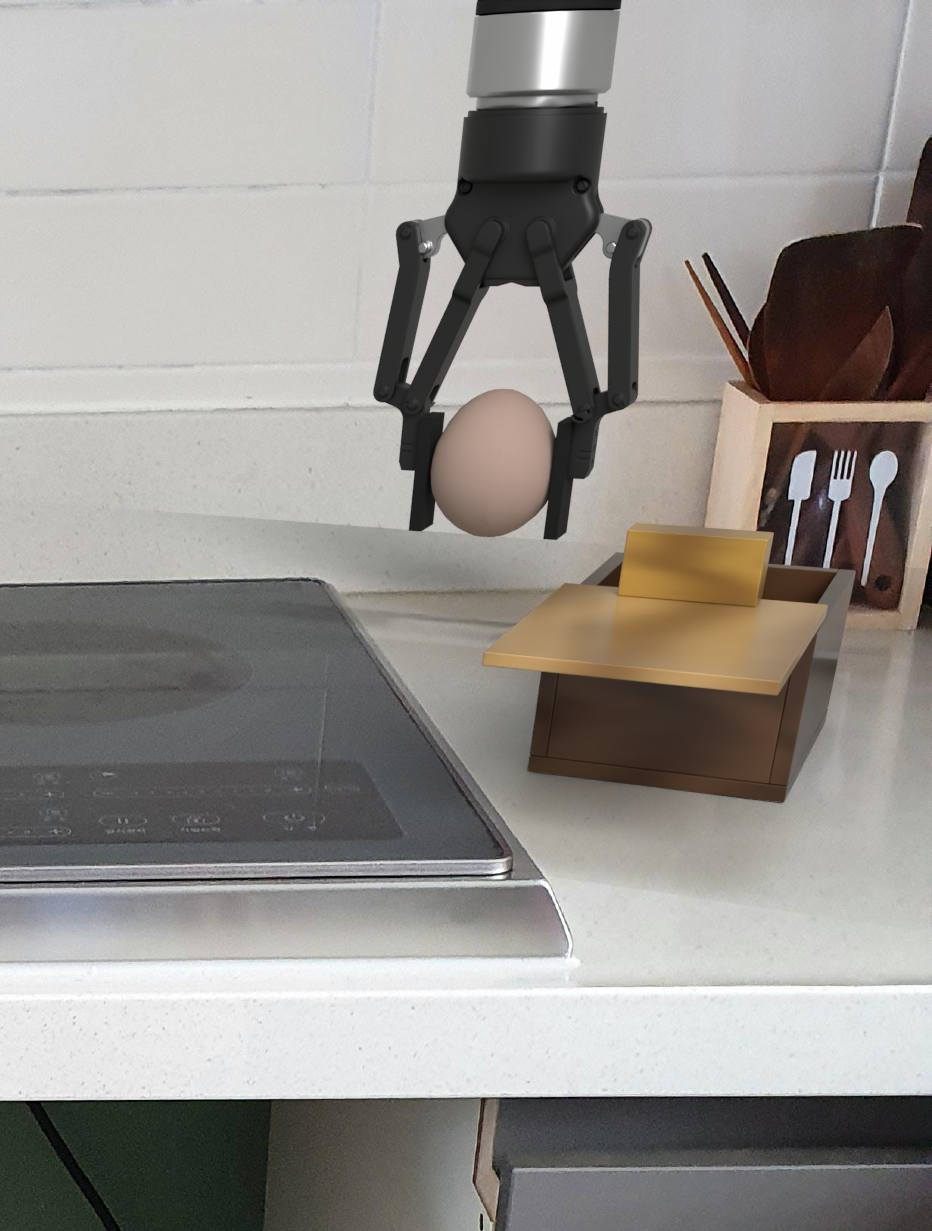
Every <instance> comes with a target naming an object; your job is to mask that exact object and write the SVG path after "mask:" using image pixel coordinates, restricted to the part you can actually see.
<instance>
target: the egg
mask: <svg viewBox="0 0 932 1231" xmlns="http://www.w3.org/2000/svg"><path fill="white" fill-rule="evenodd" d="M555 442H556V434H555V432H554V428H553V426H552V424H551V421H550V420H549V419H548V417H547V414H546V413H545V411H544V410H543V408H542V407H541V406H540V405H539V404H538V403H537V402H536V401H534V399H532V398H531V397H530V396H528V395H527V394H525V393H523V392H521V391H519V390H516V389H512V388H494V389H490V390H487V391H485V392H482V393H480V394H478V395H476V396H474V397H473V398H471V399H470V400H468V401H467V402H466V403H464V405H462V406H461V407H460V408H459V409H458V410H457V412H456V413H455V414H454V415H453V416H452V418H451V419H450V420H449V421H448V422H447V425H446V426H445V428H444V429H443V433H442V435H441V437H440V439H439V441H438V443H437V445H436V448H435V451H434V455H433V458H432V465H431V488H432V493H433V496H434V498H435V504H436V506H437V507H438V509H439V510H440V512H441V513H442V515H443V516H444V517H445V518H446V520H448V521H449V522H450V523H451V524H452V525H453V526H454V527H456V528H457V529H458V530H461V531H463V532H464V533H467V534H469V535H472V536H474V537H480V538H495V537H502V536H505V535H508V534H510V533H512V532H514V531H515V532H516V531H517V530H519V529H520V528H522V527H523V526H525V525H526V524H527V523H528V522H530V521H531V520H532V519H533V518H535V517H536V516H537V515H538V514H539V513H540V512H541V510H542V509H544V507H545V506H546V504H548V497H549V489H550V481H551V473H552V465H553V457H554V450H555Z"/></svg>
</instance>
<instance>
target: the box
mask: <svg viewBox="0 0 932 1231" xmlns="http://www.w3.org/2000/svg"><path fill="white" fill-rule="evenodd" d="M623 555H624V552H619V551H615V553H613V554H612V555H611V556H610V557H609V558H607V560H605V561H604V562H603V563H602V564H601V565H600V566H598V568H596V569H595V570H594V571H593V572H592V573H591V574H589V576H587V577H586V578H585V579H584V580H583V581H582V582H580V584H585V585H597V586H609V587H619V581H620V575H621V568H622V562H623ZM856 574H857V571H856V570H854V569H844V568H843V569H842V568H840V569H838V568H830V567H818V566H817V567H815V566H803V565H793V564H792V565H791V564H790V565H789V564H779V563H777V564H776V563H768V568H767V573H766V579H765V584H764V590H763V595H762V598H761V599H765V600H777V601H789V602H801V603H813V604H825V605H828V608H827V613H826V617H825V619H824V620H823V622H822V624H821V625H820V627H819V628H818V630H817V632H816V633H815V635H814V637H813V638H812V640H811V642H810V643H809V645H808V646H807V648H806V650H805V651H804V653H803V655H802V656H801V658H800V660H799V661H798V663H797V664H796V666H795V668H794V669H793V671H792V673H791V674H790V676H789V678H788V679H787V681H786V682H785V684H784V686H783V687H782V689H781V691H780V692H779V694H778V695H777V696H774V695H765V694H755V693H745V692H735V691H726V690H716V689H706V688H697V687H687V686H677V685H667V684H658V683H648V682H638V681H628V680H619V679H609V678H599V677H589V676H580V675H570V674H560V673H550V672H541V671H540V677H539V684H538V691H537V699H536V705H535V713H534V719H533V720H534V721H533V728H532V734H531V741H530V748H529V756H528V763H527V769H526V770H527V771H528V772H531V773H540V774H546V775H547V774H549V775H556V776H563V777H571V778H572V777H573V778H579V779H587V780H588V779H589V780H596V781H597V780H598V781H605V782H612V783H620V784H628V785H629V784H630V785H637V786H644V787H645V786H646V787H652V788H653V787H654V788H661V789H669V790H678V791H685V792H694V793H700V794H701V793H702V794H710V795H718V796H725V797H726V796H727V797H733V798H741V799H749V798H752V799H751V800H757V799H760V800H759V801H765V800H769V801H768V802H773V801H778V802H777V803H781V802H783V803H785V801H786V800H787V797H788V796H789V794H790V792H791V790H792V788H793V786H794V784H795V782H796V780H797V778H798V776H799V774H800V772H801V770H802V768H803V766H804V765H805V762H806V760H807V758H808V757H809V755H810V752H811V750H812V748H813V747H814V745H815V743H816V740H817V739H818V737H819V736H820V733H821V731H822V729H823V727H824V725H825V723H826V721H827V716H828V711H829V709H828V708H829V706H830V700H831V695H832V691H833V685H834V680H835V676H836V671H837V666H838V661H839V656H840V652H841V647H842V641H843V637H844V632H845V626H846V622H847V618H848V612H849V607H850V602H851V597H852V593H853V587H854V582H855V578H856ZM779 801H781V802H779Z"/></svg>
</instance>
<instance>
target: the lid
mask: <svg viewBox="0 0 932 1231" xmlns="http://www.w3.org/2000/svg"><path fill="white" fill-rule="evenodd" d="M774 535H775V533H774V532H772V531H760V530H745V529H732V528H716V527H703V526H689V525H688V526H687V525H674V524H659V523H646V522H645V523H644V522H635V523H634V524H633V525H632V526H631V527H630V528H628V529H627V530H626V536H625V543H624V550H623V553H624V555H623V562H622V568H621V575H620V581H619V587H609V586H597V585H585V584H581V583H573V582H572V583H570V582H564V583H563V584H562V585H561V586H559V587H558V588H557V589H556V590H555V591H553V592H552V593H551V594H550V595H549V596H548V597H546V598H545V599H544V600H543V601H542V602H541V603H539V604H538V605H537V606H536V607H534V609H532V611H530V612H529V613H528V614H526V615H525V617H523V618H522V619H521V620H520V621H519V622H517V624H515V625H514V626H513V627H511V629H509V630H508V631H507V632H506V633H504V634H503V635H502V636H501V637H500V638H499V639H497V641H496V642H495V643H493V644H491V646H490V647H488V648H487V649H486V650H485V651H484V652H483V655H482V656H483V657H482V666H483V667H484V666H485V667H492V668H502V669H512V670H523V671H531V672H532V671H533V672H540V673H541V672H550V673H560V674H570V675H580V676H589V677H599V678H609V679H619V680H628V681H638V682H648V683H658V684H667V685H677V686H687V687H697V688H706V689H716V690H726V691H735V692H745V693H755V694H765V695H774V696H777V695H778V694H779V692H780V691H781V689H782V687H783V686H784V684H785V682H786V681H787V679H788V678H789V676H790V674H791V673H792V671H793V669H794V668H795V666H796V664H797V663H798V661H799V660H800V658H801V656H802V655H803V653H804V651H805V650H806V648H807V646H808V645H809V643H810V642H811V640H812V638H813V637H814V635H815V633H816V632H817V630H818V628H819V627H820V625H821V624H822V622H823V620H824V619H825V617H826V613H827V608H828V605H825V604H813V603H801V602H789V601H777V600H765V599H761V598H762V595H763V590H764V584H765V579H766V573H767V568H768V564H770V563H769V562H770V557H771V550H772V545H773V541H774Z"/></svg>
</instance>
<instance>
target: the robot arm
mask: <svg viewBox="0 0 932 1231" xmlns="http://www.w3.org/2000/svg"><path fill="white" fill-rule="evenodd" d="M622 1H623V0H476V3H475V4H476V5H475V13H474V14H475V16H474V19H473V27H472V37H471V47H470V54H469V63H468V71H467V72H468V73H467V79H466V80H467V81H466V90H465V93H466V95H467V97H468V98H470V99H471V98H472V99H473V98H476V102H475V110H468V111H467V116H464V117H463V123H462V130H461V141H460V150H459V151H460V152H459V161H458V170H457V180H456V182H457V183H456V190H455V193H454V196H453V199H452V201H451V203H449V204H450V205H449V206H448V207H447V209H446V211H445V214H442V215H438V216H434V217H431V218H427V219H423V220H422V219H418V218H417V219H411V220H405V221H403V222H401V223H400V224H399V225H398V226H397V228H396V230H395V241H396V242H395V243H396V250H397V258H398V270H397V275H396V280H395V285H394V289H393V293H392V294H393V295H392V299H391V303H390V309H389V313H388V318H387V323H386V327H385V332H384V338H383V343H382V347H381V351H380V356H379V362H378V365H377V370H376V374H375V380H374V385H373V390H372V395H373V399H374V400H376V402H378V403H384V404H387V405H390V406H392V407H393V408H396V409H397V410H398V411H400V414H401V416H402V424H401V433H400V434H401V435H400V446H399V454H398V463H399V467H400V470H401V471H408V472H410V471H411V472H414V474H413V482H412V483H413V484H412V492H411V504H410V511H409V512H410V513H409V523H408V532H421V533H422V532H423V531H425V530H426V529H428V528H429V527H431V526H433V525H434V519H435V510H436V501H435V498H434V496H433V493H432V488H431V465H432V458H433V455H434V451H435V448H436V445H437V443H438V441H439V439H440V437H441V435H442V433H443V432H444V424H445V416H446V412H445V411H431V408H432V407H434V406H435V405H436V404H437V403H436V401H435V400H436V397H437V396H438V394H439V391H440V389H441V387H442V385H443V384H444V380H445V379H446V377H447V375H448V372H449V370H450V369H451V366H452V364H453V362H454V360H455V357H456V356H457V353H458V352H459V350H460V347H461V345H462V342H463V341H464V338H465V336H466V334H467V332H468V330H469V328H470V326H471V324H472V322H473V319H474V318H475V315H476V313H477V311H478V309H479V307H480V305H481V303H482V301H483V299H484V298H485V297H486V295H487V293H488V292H489V289H490V288H491V287H500V286H503V285H507V284H516V285H519V286H522V287H526V288H527V287H530V288H532V287H533V288H539V290H540V294H541V298H542V301H543V303H544V304H545V306H546V310H547V313H548V318H549V323H550V326H551V330H552V334H553V338H554V342H555V346H556V350H557V355H558V358H559V362H560V366H561V371H562V375H563V380H564V382H565V383H564V384H565V387H566V391H567V395H568V400H569V403H570V407H571V411H572V414H571V415H570V416H566V417H564V418H563V419H561V420H559V421H558V422H557V426H556V434H555V437H556V442H555V450H554V457H553V465H552V473H551V481H550V489H549V497H548V501H547V507H546V514H545V521H544V530H543V537H542V540H549V541H557V540H559V539H560V538H561V537H563V536H564V535H565V534H566V533H567V532H568V523H569V516H570V509H571V502H572V492H573V485H574V480H585V479H587V478H588V477H589V476H590V475H591V473H592V471H593V469H594V467H595V461H596V460H595V459H596V453H597V445H598V437H599V433H600V432H599V431H600V424H601V421H602V419H603V418H604V417H605V416H606V415H609V414H613V413H615V412H619V411H623V410H625V409H626V408H628V407H629V406H631V405H633V404H634V403H635V402H636V400H637V399H638V396H639V368H640V367H639V366H640V365H639V361H640V305H641V304H640V299H641V298H640V297H641V295H640V294H641V263H642V260H643V258H644V255H645V252H646V248H647V246H648V244H649V240H650V238H651V235H652V232H653V225H652V222H651V221H650V220H649V219H648V218H645V217H640V218H639V217H638V218H635V219H631V218H627V217H623V216H618V215H616V214H615V215H614V214H610V213H605V208H604V205H603V204H602V202H601V198H600V194H599V193H600V192H599V182H600V175H601V167H602V158H603V149H604V142H605V134H606V127H607V118H608V112H605V107H604V106H598V105H599V101H598V99H599V95H600V94H601V95H602V94H606V93H607V92H608V91H609V90H610V89H612V88H611V87H612V82H613V81H612V80H613V73H614V66H615V58H616V57H615V56H616V49H617V41H618V32H619V25H620V16H621V11H620V10H621V9H622ZM596 234H597V235H598V236H599V237H600V238H601V240H602V250H601V251H602V253H603V255H604V257H606V258H607V259H610V263H609V269H608V294H607V295H608V298H607V299H608V300H607V301H608V302H607V304H608V306H607V389H606V390H603V391H602V390H601V387H600V382H599V378H598V374H597V370H596V366H595V362H594V358H593V354H592V349H591V345H590V341H589V336H588V333H587V328H586V324H585V319H584V317H583V312H582V308H581V303H580V299H579V295H578V291H579V290H578V282H577V278H576V274H575V270H574V267H573V266H574V265H573V262H574V261H575V260H576V259H577V257H578V256H579V255H580V253H581V252H582V251H583V250H584V249H585V248H586V246H587V245H588V244H589V243H590V241H591V240H592V239H593V238H594V237H595V235H596ZM446 235H448V237H449V239H450V240H451V242H452V244H453V246H454V247H455V249H456V251H457V253H458V254H459V256H460V258H461V259H462V261H463V263H464V265H463V267H462V269H461V272H460V273H459V276H458V277H457V279H456V282H455V284H454V286H453V289H452V292H451V296H450V299H449V301H448V303H447V305H446V308H445V310H444V312H443V314H442V317H441V318H440V321H439V323H438V325H437V328H436V329H435V331H434V333H433V336H432V337H431V340H430V342H429V344H428V347H426V348H427V349H426V351H425V353H424V355H423V357H422V359H421V361H420V364H419V366H418V368H417V369H416V373H415V375H414V376H413V379H412V381H411V383H409V382H407V378H408V373H409V369H410V364H411V360H412V355H413V352H414V346H415V342H416V337H417V332H418V327H419V323H420V318H421V314H422V309H423V304H424V301H425V296H426V290H427V286H428V281H429V277H430V271H431V265H432V264H431V263H432V258H433V257H435V256H437V255H438V254H439V252H440V249H441V247H442V246H441V245H442V241H443V239H444V238H445V236H446Z"/></svg>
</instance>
